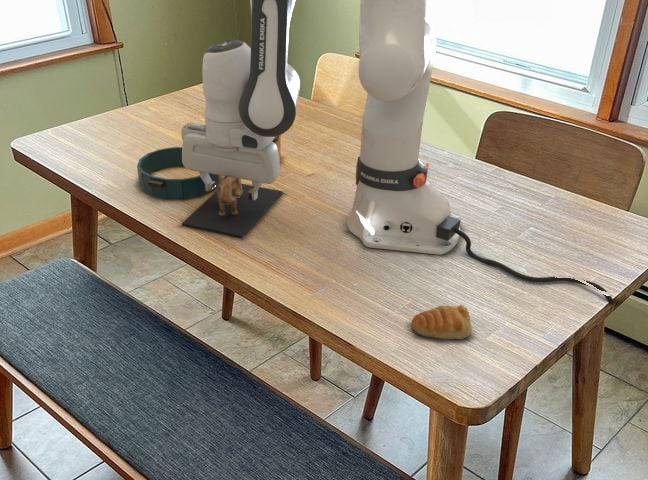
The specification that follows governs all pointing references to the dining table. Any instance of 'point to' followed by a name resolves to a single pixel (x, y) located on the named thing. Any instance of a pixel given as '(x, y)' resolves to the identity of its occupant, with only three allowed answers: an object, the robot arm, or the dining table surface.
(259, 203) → the mat
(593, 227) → the dining table surface
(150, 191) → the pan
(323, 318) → the dining table surface
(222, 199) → the lion figurine
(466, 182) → the dining table surface
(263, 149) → the robot arm
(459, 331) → the pastry
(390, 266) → the dining table surface
